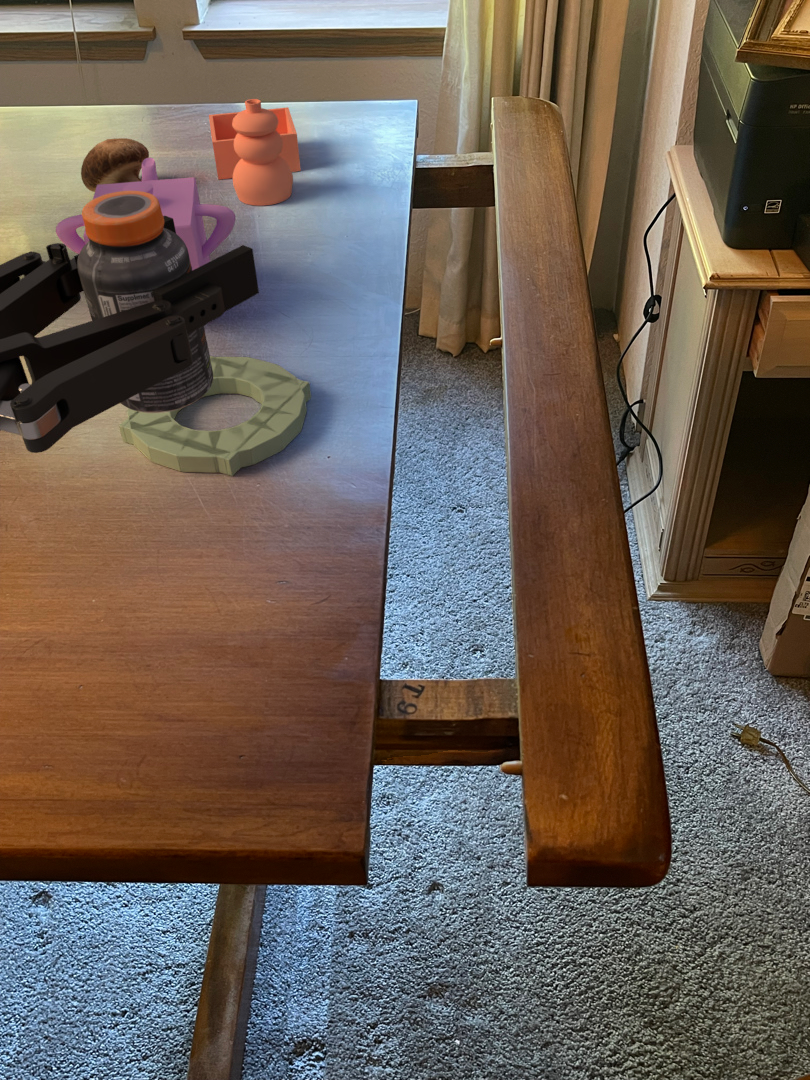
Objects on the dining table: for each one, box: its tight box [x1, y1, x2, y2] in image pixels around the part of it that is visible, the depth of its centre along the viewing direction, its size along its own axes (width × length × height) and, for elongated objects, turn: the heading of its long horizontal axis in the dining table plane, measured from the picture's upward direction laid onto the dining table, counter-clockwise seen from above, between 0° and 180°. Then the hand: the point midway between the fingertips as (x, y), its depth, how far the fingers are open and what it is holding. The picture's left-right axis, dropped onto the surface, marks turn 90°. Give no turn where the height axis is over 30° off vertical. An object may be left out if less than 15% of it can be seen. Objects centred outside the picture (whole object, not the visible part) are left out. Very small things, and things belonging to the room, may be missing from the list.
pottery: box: [208, 98, 301, 207], centre depth 106 cm, size 18×10×10 cm, turn 11°
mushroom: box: [80, 137, 150, 193], centre depth 105 cm, size 8×8×6 cm
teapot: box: [55, 157, 236, 270], centre depth 84 cm, size 15×13×11 cm
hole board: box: [118, 355, 312, 477], centre depth 73 cm, size 13×13×2 cm
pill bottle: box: [77, 191, 213, 413], centre depth 53 cm, size 6×6×11 cm
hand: (210, 253), depth 55 cm, fingers closed on pill bottle, 6 cm apart
